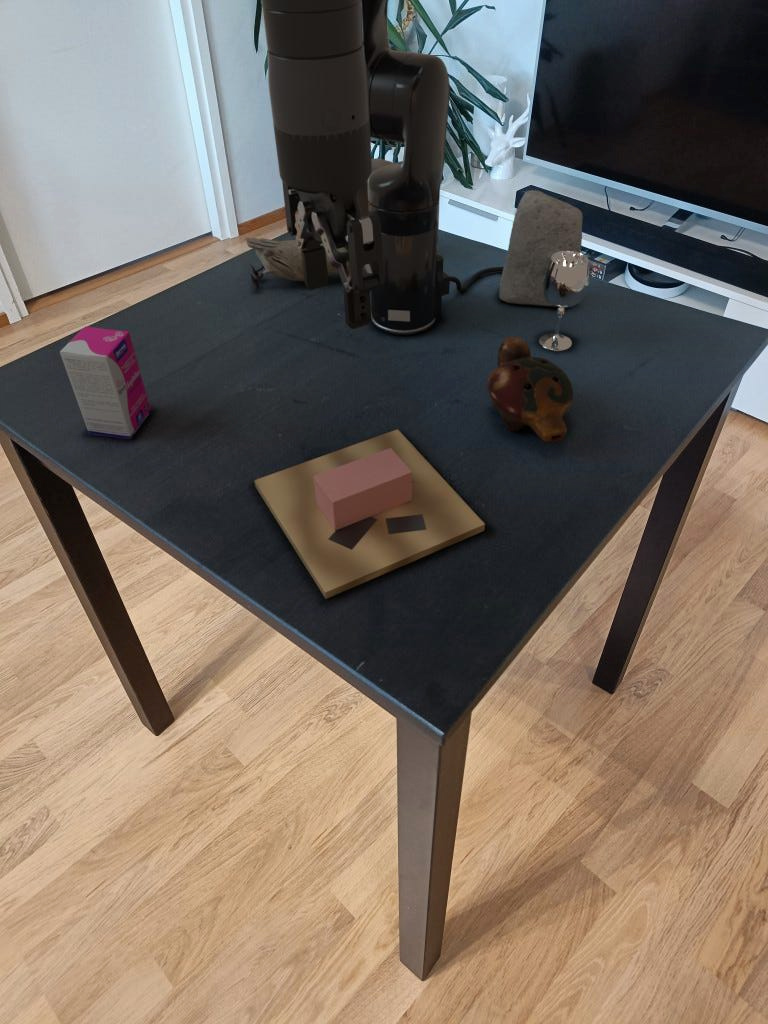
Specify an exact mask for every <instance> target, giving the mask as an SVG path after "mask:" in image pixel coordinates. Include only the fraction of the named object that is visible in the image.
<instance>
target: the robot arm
mask: <svg viewBox="0 0 768 1024" xmlns="http://www.w3.org/2000/svg"><path fill="white" fill-rule="evenodd" d="M260 3H261V10H262V11H261V12H262V18H263V27H264V34H265V43H266V48H267V51H266V52H267V79H268V80H267V83H268V93H269V101H270V111H271V118H272V125H273V132H274V140H275V148H276V155H277V156H276V157H277V164H278V173H279V177H280V180H281V183H282V192H283V202H284V212H285V221H286V230H287V233H288V235H289V236H290V237H293V236H295V240H296V245H297V247H298V248H299V249H300V250H301V249H302V251H301V255H302V263H303V272H304V281H305V282H304V285H305V286H306V287H307V288H308V289H309V290H315V289H318V288H322V287H325V286H327V284H328V283H329V274H328V271H327V260H326V254H327V257H328V260H329V262H330V264H331V265H332V266H333V267H336V268H337V269H338V272H339V274H338V275H339V278H340V281H341V283H342V287H343V290H342V291H343V302H344V304H343V305H344V316H345V317H344V318H345V324H346V325H347V326H348V327H349V329H351V330H355V329H358V328H361V327H364V326H367V325H369V324H370V323H372V325H373V326H374V327H375V328H376V329H377V330H379V331H381V332H384V333H385V334H390V335H395V336H411V335H417V334H421V333H423V332H426V331H428V330H429V329H431V328H432V327H433V326H435V323H436V322H439V321H441V320H442V306H443V305H442V304H443V296H446V295H449V294H450V284H451V282H452V283H455V287H456V291H458V292H459V293H464V292H466V291H467V290H468V289H469V288H470V287H471V285H472V284H473V283H474V282H475V281H476V280H477V279H478V278H479V277H481V276H483V275H486V274H490V273H498V272H499V273H500V272H501V273H503V268H504V266H493V267H488V268H484V269H481V270H479V271H477V272H475V273H474V274H473V275H472V276H471V277H469V279H468V280H467V282H466V283H465V284H464V285H463V286H462V282H461V280H460V279H459V278H457V277H456V276H452V275H451V276H450V275H449V274H447V273H446V272H445V271H444V260H445V259H444V256H443V255H442V254H441V253H440V252H439V231H440V230H439V225H440V199H441V198H440V197H441V184H442V179H443V174H444V169H445V168H444V167H445V156H446V142H447V133H448V132H447V131H448V120H449V111H450V110H449V109H450V97H451V96H450V95H451V94H450V85H451V84H450V77H449V76H450V75H449V72H448V68H447V66H446V64H445V62H444V60H443V59H442V58H441V57H439V56H438V55H434V54H429V53H421V52H412V51H404V50H403V51H402V50H394V49H392V48H391V45H390V39H389V29H388V27H389V26H388V13H389V12H388V11H389V10H388V9H389V0H260ZM371 139H377V140H383V141H387V142H393V143H398V144H404V153H403V160H401V161H397V162H393V163H392V164H389V165H385V166H383V167H380V168H378V169H377V170H375V171H374V172H372V173H371V171H372V162H371V159H372V141H371ZM368 178H369V179H368ZM367 179H368V216H366V217H365V216H364V215H362V214H361V210H360V206H359V202H358V196H357V191H358V189H359V188H360V186H361V185H362V184H363V183H364V182H365V181H367ZM297 211H298V212H297ZM296 213H297V216H296ZM320 244H323V245H324V246H323V245H321V246H320ZM347 246H349V251H347V252H343V253H342V252H339V251H338V250H337V249H340V248H343V247H347ZM349 262H350V267H351V275H350V272H349V269H348V266H347V263H349ZM369 264H370V265H369Z"/></svg>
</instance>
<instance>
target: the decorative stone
mask: <svg viewBox="0 0 768 1024" xmlns="http://www.w3.org/2000/svg"><path fill="white" fill-rule="evenodd" d="M583 215H584V214H583V212H582V211H581V210H580V209H579V208H578V207H576V206H573V205H571V204H570V203H567V202H565V201H562V200H561V199H558V198H555V197H554V196H551V195H548V194H547V193H544V192H543V191H541V190H535V189H530V190H527V191H525V192H524V194H523V195H522V197H521V198H520V201H519V203H518V205H517V209H516V211H515V213H514V218H513V221H512V227H511V230H510V231H511V232H510V236H509V243H508V248H507V252H506V256H505V261H504V265H503V267H504V268H503V271H502V272H501V277H500V285H499V295H498V296H499V299H500V300H501V301H504V302H505V303H508V304H517V305H531V306H532V305H533V306H539V307H540V306H541V307H555V308H556V307H557V306H554V305H552V304H550V303H549V302H548V301H547V300H546V299H545V297H544V294H543V279H544V275H545V271H546V269H547V266H548V263H549V261H550V259H551V256H552V255H553V254H554V253H556V252H560V251H575V252H579V253H581V250H582V244H583V243H582V240H583V218H584V217H583ZM557 308H558V307H557Z"/></svg>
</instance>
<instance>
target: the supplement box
mask: <svg viewBox="0 0 768 1024" xmlns="http://www.w3.org/2000/svg"><path fill="white" fill-rule="evenodd" d="M59 354H60V358H61V360H62V362H63V365H64V369H65V371H66V373H67V377H68V379H69V382H70V385H71V387H72V390H73V393H74V396H75V399H76V402H77V404H78V407H79V409H80V413H81V415H82V418H83V421H84V424H85V426H86V430H87V433H88V434H89V435H91V436H92V435H93V436H100V437H110V438H117V439H122V440H132V439H133V437H134V436H135V434H136V433H137V431H138V430H139V428H140V427H141V426H142V424H143V423H144V421H145V420H146V419H147V418H148V417H149V416H150V415H151V413H152V409H151V406H150V402H149V400H148V399H149V398H148V396H147V391H146V388H145V384H144V380H143V378H142V373H141V369H140V366H139V362H138V360H137V356H136V352H135V349H134V344H133V341H132V337H131V333H130V331H127V330H118V329H107V328H100V327H92V326H84V327H82V329H81V330H80V331H79V332H78V333H77V334H76V335H75V336H74V337H73V338H71V340H70V341H69V342H68V343H67V344H66V345H65V346H64V347H63V348H61V350H60V351H59Z"/></svg>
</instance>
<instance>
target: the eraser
mask: <svg viewBox="0 0 768 1024" xmlns="http://www.w3.org/2000/svg"><path fill="white" fill-rule="evenodd" d="M314 484H315V493H316V501H317V505H318V507H319V508H320V509H321V511H322V512H323V514H324V515H325V517H326V518H327V519H328V521H329V522H330V524H331V525H332V527H333V528H334V529H335V530H338V529H341V528H343V527H346V526H348V525H351V524H353V523H356V522H358V521H361V520H363V519H366V518H368V517H371V516H373V515H376V514H378V513H381V512H383V511H386V510H388V509H391V508H393V507H396V506H399V505H401V504H404V503H406V502H409V501H411V500H412V471H411V470H410V469H409V468H408V467H407V466H406V464H405V463H404V462H403V461H402V460H401V459H400V458H399V456H398V455H397V454H396V453H395V452H394V451H393V450H392V448H389V449H386V450H383V451H381V452H378V453H375V454H372V455H370V456H367V457H364V458H361V459H359V460H356V461H353V462H351V463H348V464H345V465H342V466H340V467H337V468H334V469H331V470H329V471H326V472H323V473H320V474H318V475H315V476H314Z"/></svg>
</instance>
